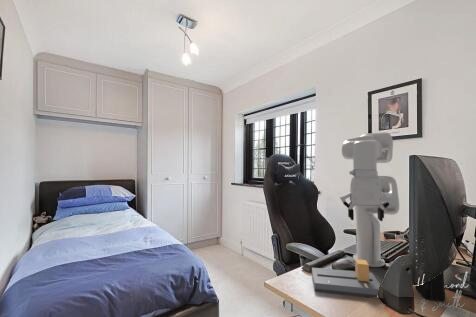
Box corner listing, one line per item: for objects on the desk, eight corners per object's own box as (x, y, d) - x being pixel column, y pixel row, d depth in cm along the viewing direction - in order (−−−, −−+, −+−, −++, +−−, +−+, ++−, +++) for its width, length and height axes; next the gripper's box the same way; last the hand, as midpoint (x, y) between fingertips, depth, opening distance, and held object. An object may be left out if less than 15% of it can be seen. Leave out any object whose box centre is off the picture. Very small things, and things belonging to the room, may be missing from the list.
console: (311, 274, 95) (311, 267, 95) (371, 280, 90) (371, 272, 90) (314, 291, 83) (314, 282, 83) (383, 298, 78) (383, 289, 78)
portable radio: (449, 303, 75) (447, 225, 75) (427, 301, 76) (426, 224, 76) (433, 290, 83) (432, 219, 83) (414, 288, 84) (413, 218, 84)
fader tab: (355, 280, 87) (355, 259, 87) (365, 281, 87) (365, 259, 87) (358, 286, 83) (358, 263, 83) (369, 287, 83) (368, 264, 83)
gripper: (341, 175, 85) (342, 221, 86) (395, 174, 81) (396, 223, 82) (338, 173, 93) (339, 216, 93) (387, 172, 88) (387, 217, 89)
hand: (365, 219), depth 88 cm, fingers open, 9 cm apart
